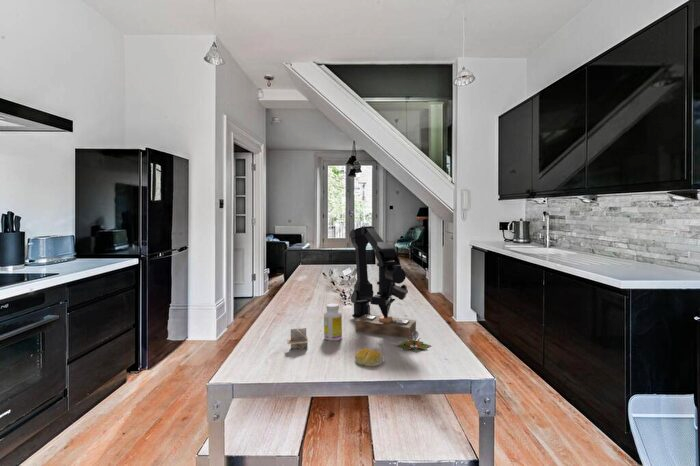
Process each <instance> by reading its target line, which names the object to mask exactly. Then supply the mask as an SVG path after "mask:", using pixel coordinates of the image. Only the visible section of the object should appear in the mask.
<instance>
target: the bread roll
mask: <svg viewBox="0 0 700 466" xmlns="http://www.w3.org/2000/svg"><path fill="white" fill-rule="evenodd" d="M354 359H355V363H356V364H358V365H359V366H365V367H368V368H371V367H372V368H373V367H378V366H381V364H383V362H384V360H385V359H384V356H383V354H382V353H381V352H380V351H378V350H376V349H373V350H371V349H369V348H362V349H361V348H360V349H359V350H358V351H357V352H356V353H355V356H354Z"/></svg>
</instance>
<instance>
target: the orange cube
mask: <svg viewBox="0 0 700 466" xmlns="http://www.w3.org/2000/svg"><path fill="white" fill-rule="evenodd" d="M380 316H381V317H380V318H379V322H387V323H390V322H391V321H392V318H393V316H390V315H388V317H387V318H385V317H384V316H383V315H380Z"/></svg>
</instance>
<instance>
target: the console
mask: <svg viewBox="0 0 700 466" xmlns="http://www.w3.org/2000/svg"><path fill="white" fill-rule="evenodd" d="M366 315H369V314H365V315H363V316H362V317H358V318H357V319H356V320H355V331H358V332H365V333H372V334H378V335H386V336H391V337H392V336H394V337H399V338H405V339H410V337H411V336H413V335H414V333H415V332H416V331H417V320H415V319H409V318H408V319H407V318H402V319H403V320H409V323H408V324H407V325H402V324H396V322H397V321H398V320H399V319H401V318H399V317H392V321H391V322H390V323H387V322H379V318H380V317H381V316H382V315H377V314H375V315H374V314H370V315H371V316H376V319H374V320H373V321H372V320H364V319H363V317H365V316H366ZM409 334H410V335H411V336H410V335H409ZM409 336H410V337H409Z"/></svg>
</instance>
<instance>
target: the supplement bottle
mask: <svg viewBox="0 0 700 466" xmlns="http://www.w3.org/2000/svg"><path fill="white" fill-rule="evenodd" d="M325 308H326V311H324V313H323V333H324V334H323V336H324V339H325V340H326V341H330V342H331V341H332V342H336V341H339V340H341V339H342V337H343V333H342V331H343V329H342V328H343V322H342V320H343V319H342V317H343V316H342V311H340V310H339V308H340V305H339V304H338V303H328V304H326V307H325Z"/></svg>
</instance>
